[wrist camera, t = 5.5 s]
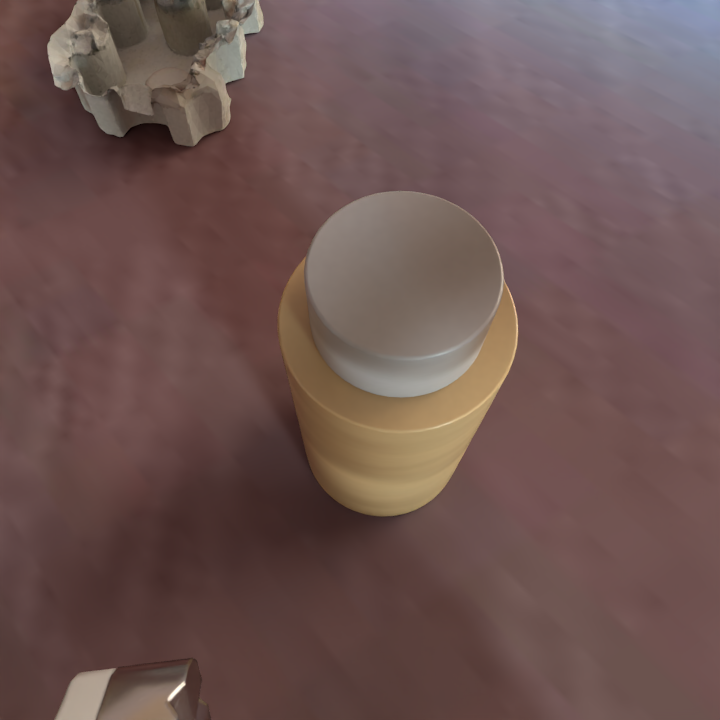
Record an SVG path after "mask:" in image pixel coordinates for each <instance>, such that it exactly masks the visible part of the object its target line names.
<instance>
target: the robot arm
mask: <svg viewBox="0 0 720 720" xmlns="http://www.w3.org/2000/svg"><path fill="white" fill-rule="evenodd" d="M201 683H202V677H201V674H200V670H199V666H198V663H197V660H195V659H193V658H188V659H180V660H172V661H164V662H155V663H147V664H139V665H131V666H123V667H118V668H115V669H106V670H98V671H89V672H80V673H78V674H77V675H76V677H75V678H74V679H73V680H72V681H71V682H70V684H69V686H68V688H67V691H66V693H65V695H64V698H63V700H62V703H61V705H60V707H59V710H58V712H57V715H56V717H55V719H54V720H211V716H210V712H209V707H208V704H206V703H205V702H204V701H202V700H201V699H200V698H199V695H200V689H201Z"/></svg>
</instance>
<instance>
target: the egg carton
mask: <svg viewBox="0 0 720 720" xmlns="http://www.w3.org/2000/svg"><path fill="white" fill-rule="evenodd" d="M263 24H264V23H263V13H262V11H261V8H260V5H259V0H78V1H77V2H76V4H75V5H74V8H73V11H72V14H71V16H70V18H69V19H68V20H67V21H66V23H65V24H63V25H62V26H61V27H60V28H59V29H58V30H57V31H56V32H55V33H54V34H52V35H51V38H50V40H49V43H48V45H47V48H48V58H49V62H50V66H51V70H52V74H53V78H54V83H55V86H57V87H58V88H60V89H62V90H68V89H71V88H74V87H75V89H76V91H77V93H78V95H79V98H80V100H81V103H82V105H83V107H84V109H85V110H87V111H88V112H90V113H92V114H93V115H94V117H95V119H96V121H97V123H98V126H99V127H100V128H101V129H102V130H103V131H104V132H105V133H107V134H113V135H115V136H118V137H123V136H124V135H125V134H126V132H127V131H128V130H129V129H130V128H131V127H133V126H136V125H138V124H142V123H160V124H165V125H167V126H168V127H169V129H170V132H171V135H172V138H173V141H174V142H175V143H177V144H179V145H185V146H194V145H196V144H197V143H198V141H199V140H200V139H201V138H202V137H203V136H205V135H207V134H209V133H212V132H215V131H221V130H223V129H224V128H225V127H226V126H227V125H228V123H229V122H230V102H231V98H229V96H228V94H227V91H226V85H225V84H226V83H227V82H231V81H234V80H237V79H241V78H244V70H245V68H246V61H245V53H246V41H245V38H244V37H245V36H244V34H249V33H257V32H260V29H261V28H262V26H263Z"/></svg>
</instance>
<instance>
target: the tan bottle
mask: <svg viewBox="0 0 720 720" xmlns="http://www.w3.org/2000/svg"><path fill="white" fill-rule="evenodd" d="M278 337H279V343H280V349H281V353H282V357H283V361H284V365H285V369H286V373H287V377H288V381H289V385H290V389H291V394H292V398H293V402H294V406H295V410H296V414H297V418H298V422H299V426H300V430H301V434H302V438H303V443H304V447H305V451H306V455H307V459H308V462H309V465H310V468H311V470H312V472H313V474H314V476H315V478H316V480H317V481H318V483H319V484H320V486H321V487H322V488H323V489H324V490H325V491H326V493H327V494H329V495H330V496H331V497H332V498H333V499H334V500H336V501H337V502H339V503H340V504H342V505H343V506H345V507H347V508H349V509H351V510H353V511H356V512H359V513H362V514H367V515H372V516H396V515H400V514H405V513H408V512H411V511H414V510H416V509H418V508H420V507H422V506H424V505H425V504H427V503H428V502H429V501H431V500H432V499H433V498H435V497H436V496H437V495H438V494H439V493H440V492H441V491H442V489H443V488H444V487H445V486H446V484H447V483H448V481H449V479H450V478H451V476H452V474H453V472H454V470H455V469H456V467H457V465H458V463H459V461H460V460H461V458H462V456H463V454H464V452H465V450H466V449H467V447H468V445H469V443H470V441H471V440H472V438H473V436H474V434H475V432H476V430H477V429H478V427H479V425H480V423H481V421H482V420H483V418H484V416H485V414H486V412H487V410H488V409H489V407H490V405H491V403H492V401H493V400H494V398H495V396H496V394H497V392H498V390H499V389H500V387H501V385H502V383H503V381H504V379H505V378H506V376H507V374H508V372H509V369H510V367H511V365H512V362H513V360H514V356H515V352H516V348H517V340H518V320H517V314H516V309H515V305H514V302H513V299H512V296H511V293H510V291H509V289H508V287H507V285H506V283H505V281H504V272H503V266H502V261H501V258H500V255H499V252H498V249H497V247H496V245H495V243H494V241H493V240H492V238H491V236H490V235H489V234H488V232H487V231H486V229H485V228H484V227H483V226H482V225H481V224H480V223H479V222H478V221H477V220H476V219H475V218H474V217H473V216H471V215H470V214H469V213H468V212H466V211H465V210H463V209H462V208H460V207H459V206H457V205H455V204H453V203H451V202H449V201H447V200H444V199H442V198H439V197H436V196H432V195H429V194H425V193H419V192H411V191H391V192H383V193H377V194H373V195H369V196H366V197H363V198H360V199H358V200H355V201H353V202H351V203H349V204H348V205H346V206H344V207H342V208H341V209H340V210H338V211H337V212H335V213H334V214H333V215H332V216H331V217H330V218H329V219H328V220H326V222H325V223H324V224H323V225H322V226H321V228H320V229H319V230H318V232H317V233H316V235H315V236H314V238H313V240H312V242H311V244H310V246H309V249H308V252H307V255H306V257H305V258H304V259H303V260H302V262H301V263H300V264H299V265H298V266H297V268H296V269H295V271H294V272H293V274H292V275H291V277H290V279H289V280H288V282H287V285H286V287H285V289H284V291H283V294H282V298H281V301H280V305H279V312H278Z"/></svg>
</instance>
